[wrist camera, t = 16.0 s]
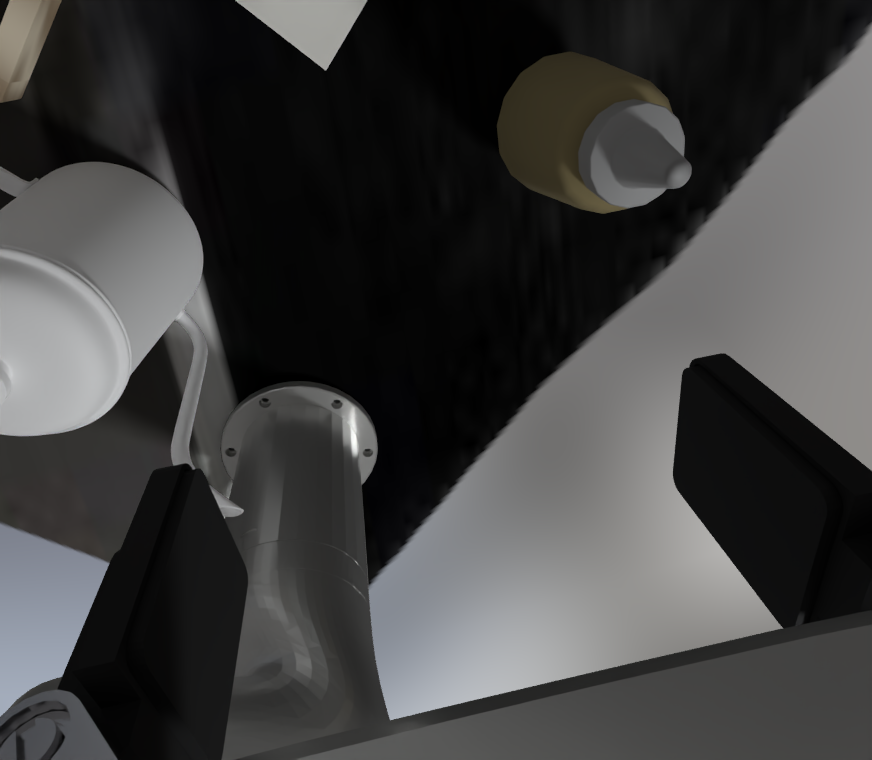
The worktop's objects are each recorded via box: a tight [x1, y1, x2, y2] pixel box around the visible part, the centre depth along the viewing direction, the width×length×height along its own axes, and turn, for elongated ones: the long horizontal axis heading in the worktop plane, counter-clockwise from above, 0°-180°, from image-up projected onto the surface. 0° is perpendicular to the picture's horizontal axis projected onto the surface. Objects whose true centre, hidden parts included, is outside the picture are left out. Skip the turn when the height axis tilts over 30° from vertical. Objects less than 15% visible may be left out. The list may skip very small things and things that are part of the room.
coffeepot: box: [0, 162, 244, 517], centre depth 31 cm, size 11×25×19 cm, turn 40°
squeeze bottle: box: [497, 52, 691, 214], centre depth 32 cm, size 8×8×18 cm
